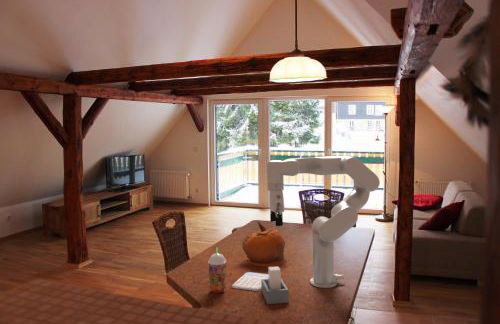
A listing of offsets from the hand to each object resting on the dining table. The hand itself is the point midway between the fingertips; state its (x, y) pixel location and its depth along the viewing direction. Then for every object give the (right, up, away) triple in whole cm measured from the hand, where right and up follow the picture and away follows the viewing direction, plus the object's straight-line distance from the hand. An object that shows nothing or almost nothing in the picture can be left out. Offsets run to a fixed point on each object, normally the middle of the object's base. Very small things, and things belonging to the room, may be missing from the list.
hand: (276, 223), depth 180 cm
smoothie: (-27, -30, -4) cm, 41 cm away
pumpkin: (-3, -27, +40) cm, 49 cm away
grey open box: (-2, -30, -11) cm, 32 cm away
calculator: (-11, -30, +7) cm, 33 cm away
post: (-2, -30, -11) cm, 32 cm away
